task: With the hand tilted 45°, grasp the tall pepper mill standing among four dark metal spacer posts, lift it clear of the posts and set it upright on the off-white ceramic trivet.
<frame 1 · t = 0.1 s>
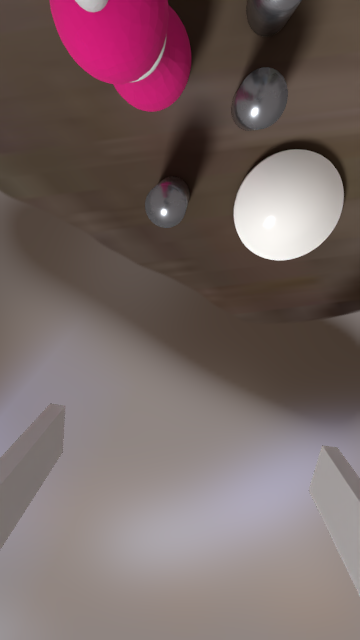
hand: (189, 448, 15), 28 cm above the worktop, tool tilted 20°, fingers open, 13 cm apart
spacer posts: (156, 69, 29), on the worktop
pepper mill: (156, 69, 29), on the worktop
trivet: (285, 208, 34), on the worktop
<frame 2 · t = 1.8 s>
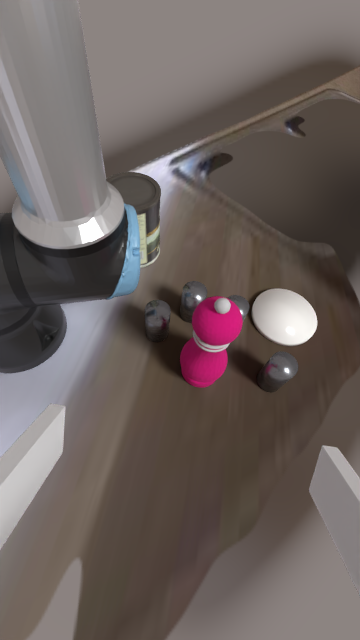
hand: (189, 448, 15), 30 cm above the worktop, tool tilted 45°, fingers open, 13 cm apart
spacer posts: (199, 369, 49), on the worktop
coffee can: (135, 250, 62), on the worktop
pepper mill: (199, 369, 49), on the worktop
trivet: (282, 317, 55), on the worktop
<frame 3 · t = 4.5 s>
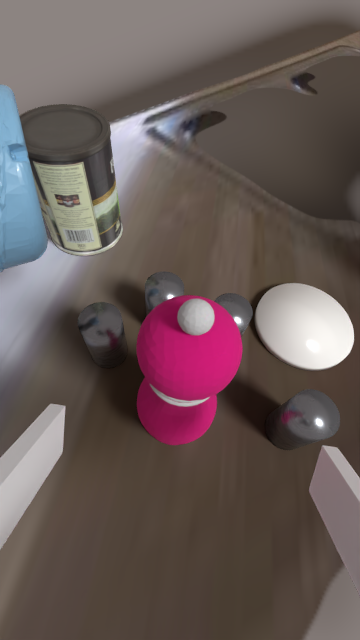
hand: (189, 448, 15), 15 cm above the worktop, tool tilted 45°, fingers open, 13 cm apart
spacer posts: (174, 412, 30), on the worktop
coffee can: (87, 231, 43), on the worktop
pepper mill: (174, 413, 31), on the worktop
trivet: (301, 325, 37), on the worktop
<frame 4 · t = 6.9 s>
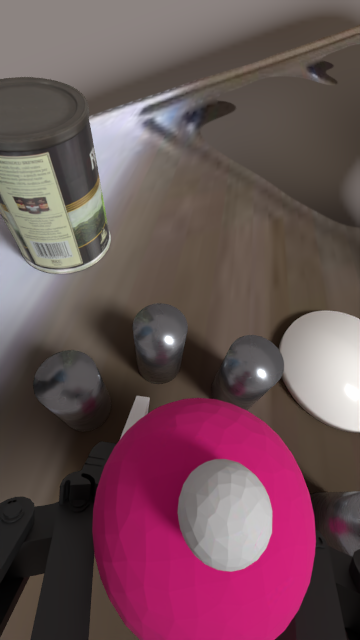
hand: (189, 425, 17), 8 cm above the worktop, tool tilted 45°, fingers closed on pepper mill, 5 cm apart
spacer posts: (172, 499, 22), on the worktop
coffee can: (66, 242, 35), on the worktop
pepper mill: (172, 499, 22), on the worktop, touching gripper
trivet: (338, 367, 29), on the worktop
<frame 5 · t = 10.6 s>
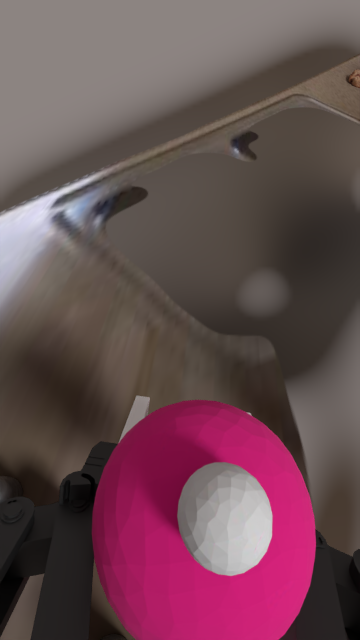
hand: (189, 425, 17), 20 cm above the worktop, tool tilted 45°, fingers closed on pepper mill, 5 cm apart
pepper mill: (172, 500, 22), point 12 cm above the worktop, touching gripper
when the fingers open (9 cm above the worktop, at t = 14.2 s): pepper mill stays where it is, resting on trivet.
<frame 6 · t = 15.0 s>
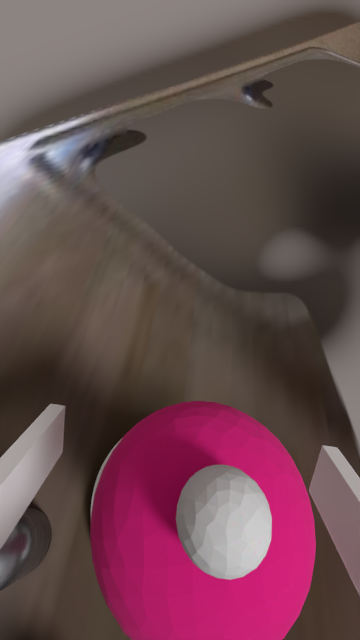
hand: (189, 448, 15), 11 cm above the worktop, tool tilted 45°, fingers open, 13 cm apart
pepper mill: (172, 501, 22), point 1 cm above the worktop, touching trivet
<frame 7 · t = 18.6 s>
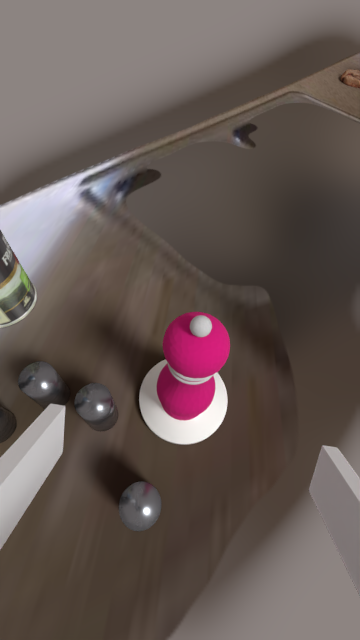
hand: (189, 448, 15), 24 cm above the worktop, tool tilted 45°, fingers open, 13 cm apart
spacer posts: (45, 488, 34), on the worktop
coffee can: (4, 301, 47), on the worktop
pepper mill: (183, 397, 40), point 1 cm above the worktop, touching trivet
cookie: (353, 83, 104), on the worktop
trivet: (183, 398, 41), on the worktop
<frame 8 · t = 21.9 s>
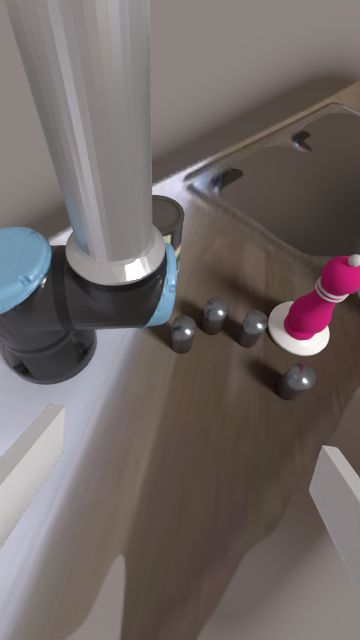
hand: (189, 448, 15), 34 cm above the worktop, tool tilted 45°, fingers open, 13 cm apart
spacer posts: (222, 379, 52), on the worktop
coffee can: (155, 265, 65), on the worktop
pepper mill: (298, 327, 58), point 1 cm above the worktop, touching trivet
trivet: (296, 329, 59), on the worktop
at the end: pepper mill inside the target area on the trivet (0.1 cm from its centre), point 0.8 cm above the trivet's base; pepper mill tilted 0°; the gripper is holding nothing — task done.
